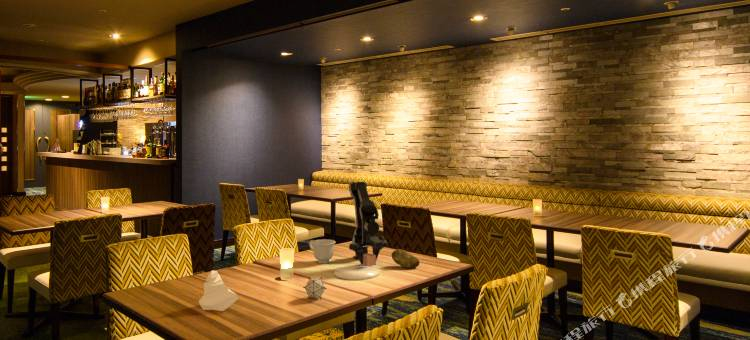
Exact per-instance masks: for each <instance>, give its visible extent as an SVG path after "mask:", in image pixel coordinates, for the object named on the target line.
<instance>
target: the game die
mask: <svg viewBox="0 0 750 340" xmlns="http://www.w3.org/2000/svg"><path fill="white" fill-rule="evenodd" d="M322 279H323V276H321V277H320V278H311V277H309V276H308V281H307V283H306V285H305V286H303V287H302V288H303V289H305V291H306V295H307V300H309V299H310V298H318V299H320V300H322V295H323V293H324V291H325V290H327V289H328V288H327V287H326V286H325V285H324V283H323V280H322Z"/></svg>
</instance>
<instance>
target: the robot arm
mask: <svg viewBox="0 0 750 340" xmlns="http://www.w3.org/2000/svg"><path fill="white" fill-rule="evenodd" d="M367 187H368V186H367V182H365V181H352V182H350V183H349V184H348V191H349V193H350V195H349V196H350V197H351V198H352V199H353V204H354V211H355V212H354V213H355V214H354V215H355V223H356V228H355V230H354V232H353V236H352V239H351V242H350V244H349V245H348V249H349V250H351V251H354V253H355V255H353V256H352V258H354V259H357V260H358V261H359V263H360V265H361V264H363V254H368V253H369V249H368V248H369V247H371V248H372V254H374V255H376V261H377V260H378V257H379V255H380V252H381V250H382V249H384V248H385V247H387V246H388V242H387V240H386V239H385V237H384V236H383V235H381V236H377V233H379V231H380V225H379V223H378V222H376V220H379V215H380V214H379V212H378V208H377V206H376V205H375V202H374V201H373V200H371V199H370V195H369V192H368V190H367V189H368V188H367Z"/></svg>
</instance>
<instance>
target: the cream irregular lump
mask: <svg viewBox="0 0 750 340" xmlns="http://www.w3.org/2000/svg"><path fill="white" fill-rule="evenodd" d="M203 290H204V292H203V296H202V297H201V298H200V299H199V300H198V303H199V307H200V308H201V310H202V311H219V312H224V311H225V310H226V309H228V308H229V307H230V306H231V305H233V304H234V303H235V302H236V301H237V300H239V298H238V297H239V296H238V294H237V293H236V292H234V291H232V290H231V289H229V288H228V286H227V285H226V284H225V283H224V281H223V279H222V277H221V275H220V274H219V272H218V271H217V270H211V271H210V272H209V274H208V275H207V277H206V279H205V282H204V283H203Z"/></svg>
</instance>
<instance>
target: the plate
mask: <svg viewBox="0 0 750 340" xmlns="http://www.w3.org/2000/svg"><path fill="white" fill-rule="evenodd" d="M333 274H334V277H336V278H338V279H342V280H348V281H361V280H362V281H365V280H370V279H373V278H376V277H378V276H379V275H380V270H379V269H378V268H376V267H375V266H363V265H349V266H343V267H339V268H336V269H335V270H334V273H333Z"/></svg>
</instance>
